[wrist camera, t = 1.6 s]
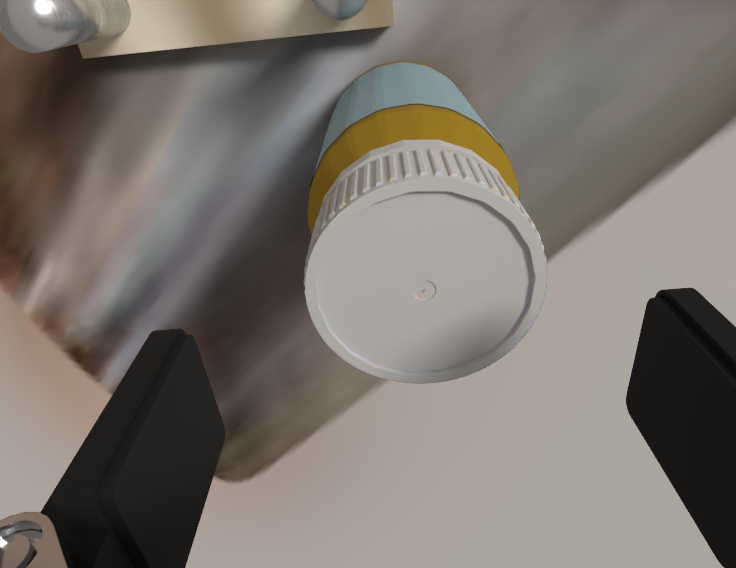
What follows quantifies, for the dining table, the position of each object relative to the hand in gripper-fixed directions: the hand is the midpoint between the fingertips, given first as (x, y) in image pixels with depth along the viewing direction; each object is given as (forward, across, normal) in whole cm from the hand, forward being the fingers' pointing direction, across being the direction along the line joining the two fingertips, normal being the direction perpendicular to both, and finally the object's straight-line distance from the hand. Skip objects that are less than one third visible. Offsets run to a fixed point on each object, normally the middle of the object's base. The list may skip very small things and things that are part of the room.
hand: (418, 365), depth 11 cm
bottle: (+18, -1, 0) cm, 18 cm away
